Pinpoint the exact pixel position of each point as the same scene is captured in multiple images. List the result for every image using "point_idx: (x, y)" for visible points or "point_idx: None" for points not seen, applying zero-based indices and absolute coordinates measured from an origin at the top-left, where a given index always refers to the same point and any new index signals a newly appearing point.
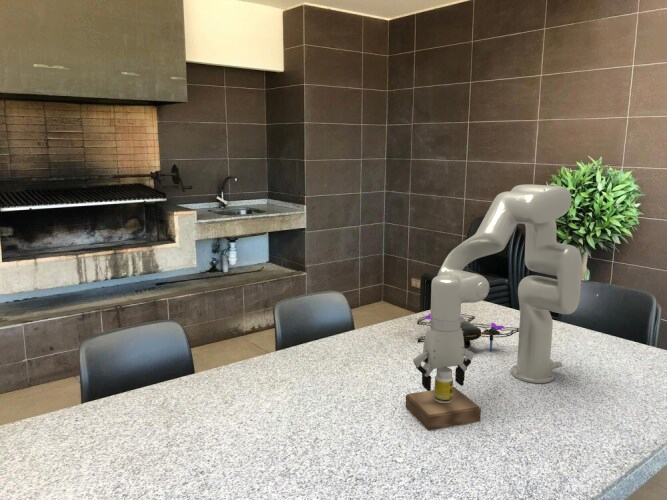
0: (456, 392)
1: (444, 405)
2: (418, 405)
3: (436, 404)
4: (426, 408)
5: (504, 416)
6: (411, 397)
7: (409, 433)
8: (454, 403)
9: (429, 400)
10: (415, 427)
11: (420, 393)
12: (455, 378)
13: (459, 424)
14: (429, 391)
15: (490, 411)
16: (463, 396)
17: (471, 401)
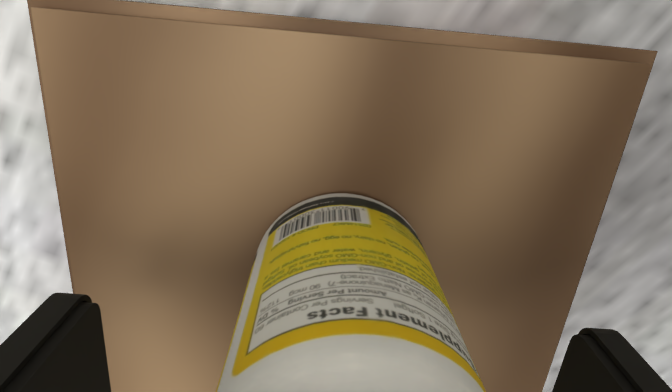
0: (562, 190)
1: None
2: (74, 259)
3: (233, 312)
4: (115, 338)
5: (664, 366)
6: (53, 107)
7: (10, 327)
8: None
9: (209, 233)
10: (71, 286)
11: (191, 61)
12: (596, 366)
13: None
14: (316, 57)
15: (650, 295)
16: (553, 279)
17: (538, 367)
